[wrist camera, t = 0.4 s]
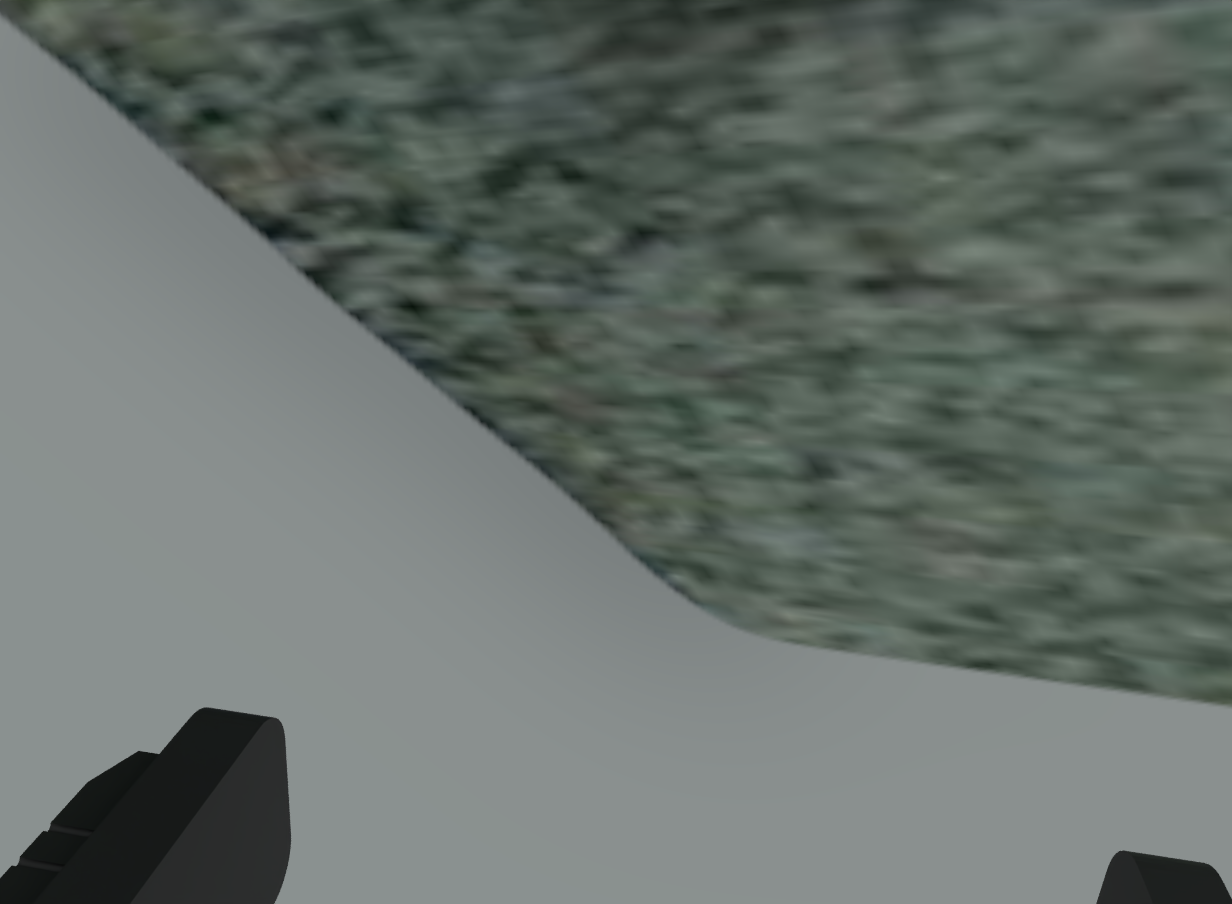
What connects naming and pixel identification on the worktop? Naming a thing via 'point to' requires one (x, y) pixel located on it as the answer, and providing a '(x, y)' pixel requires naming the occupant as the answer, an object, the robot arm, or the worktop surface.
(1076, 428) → the worktop surface
